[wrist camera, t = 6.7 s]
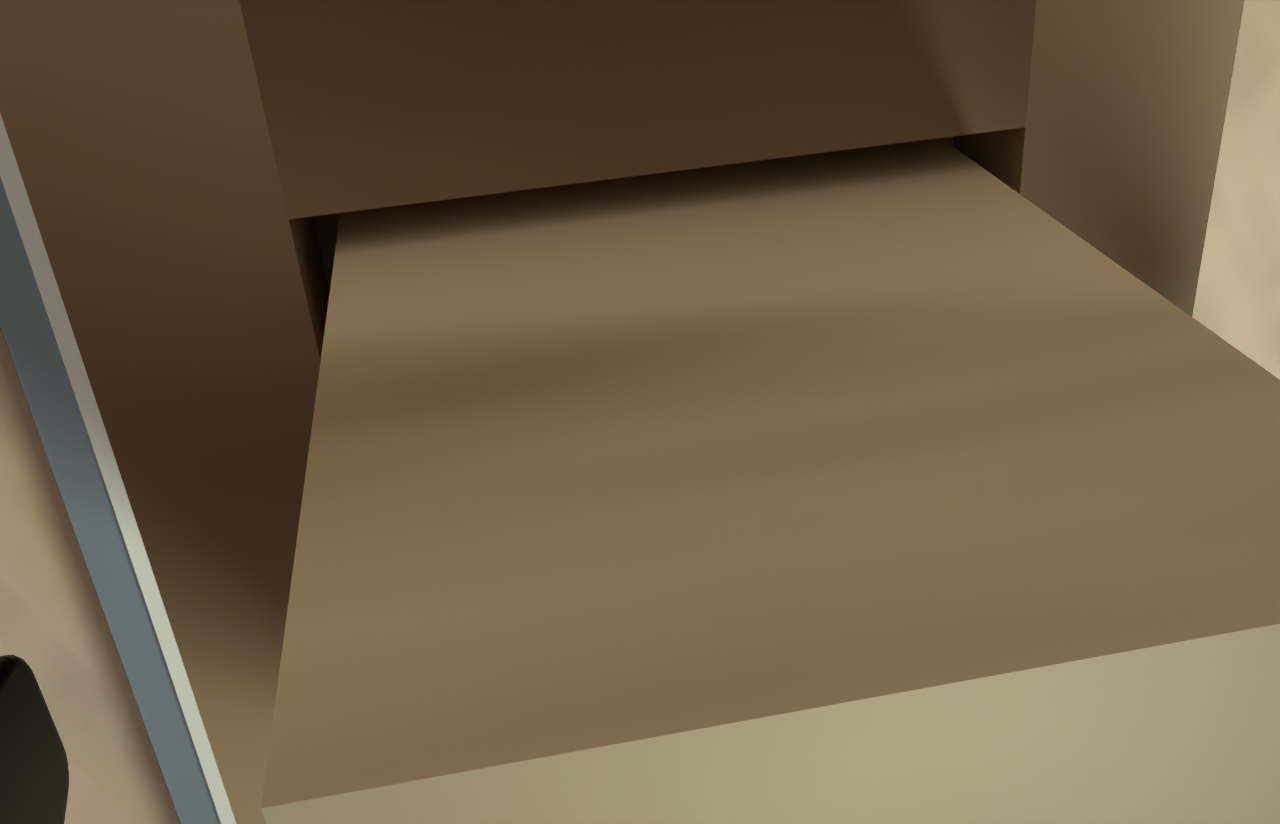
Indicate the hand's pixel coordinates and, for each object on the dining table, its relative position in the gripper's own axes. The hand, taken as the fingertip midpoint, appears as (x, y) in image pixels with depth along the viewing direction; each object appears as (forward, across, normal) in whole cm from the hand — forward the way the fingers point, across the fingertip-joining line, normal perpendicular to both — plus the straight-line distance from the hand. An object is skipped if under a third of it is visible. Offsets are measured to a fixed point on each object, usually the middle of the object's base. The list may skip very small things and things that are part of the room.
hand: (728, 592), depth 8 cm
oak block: (+2, 0, 0) cm, 2 cm away
